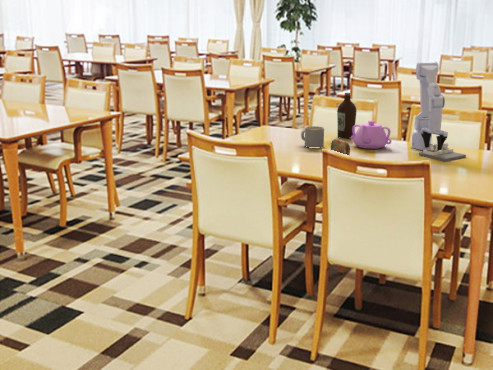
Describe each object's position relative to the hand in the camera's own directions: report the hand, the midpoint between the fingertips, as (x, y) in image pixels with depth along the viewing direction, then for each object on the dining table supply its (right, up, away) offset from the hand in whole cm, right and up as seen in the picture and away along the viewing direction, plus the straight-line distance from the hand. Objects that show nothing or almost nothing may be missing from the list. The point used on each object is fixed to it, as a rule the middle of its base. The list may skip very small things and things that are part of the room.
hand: (433, 148), depth 298 cm
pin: (0, -2, +1) cm, 2 cm away
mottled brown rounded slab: (-45, -4, 0) cm, 46 cm away
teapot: (-27, +2, +21) cm, 34 cm away
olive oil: (-35, +9, +48) cm, 60 cm away
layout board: (+5, -4, 0) cm, 6 cm away
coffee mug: (-56, +3, +25) cm, 62 cm away
